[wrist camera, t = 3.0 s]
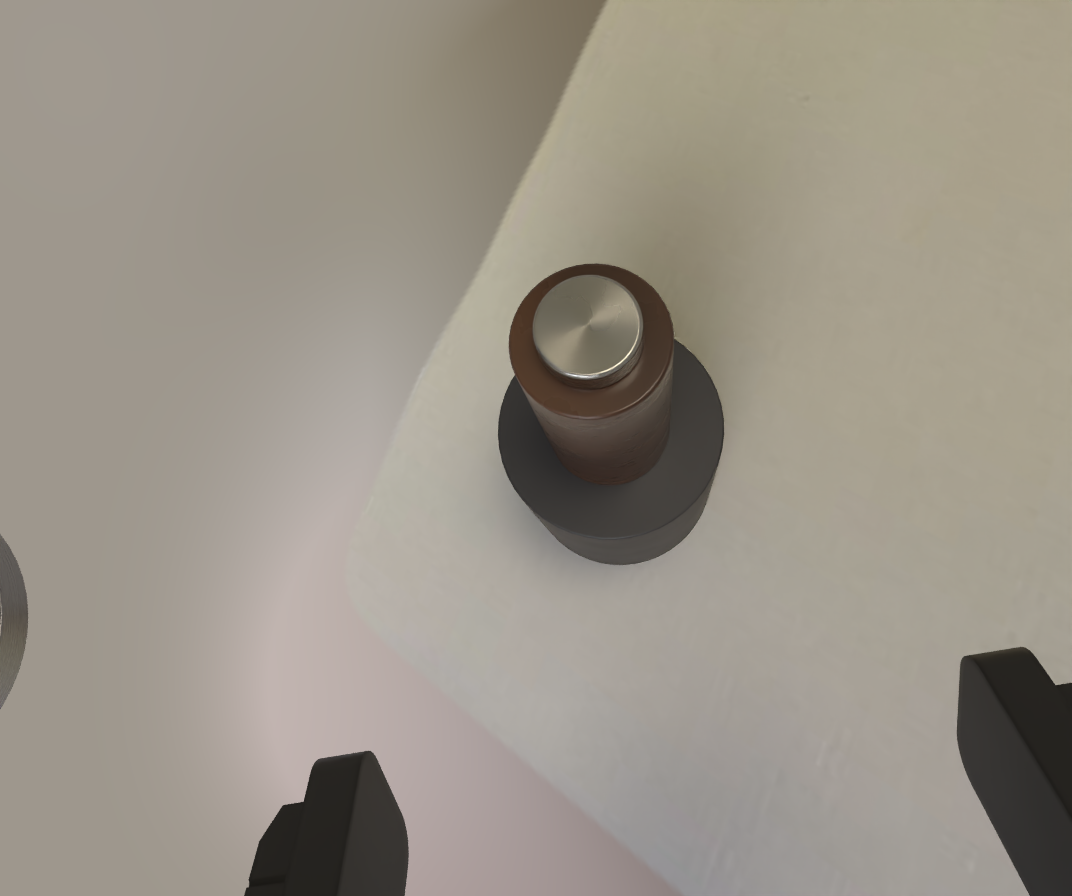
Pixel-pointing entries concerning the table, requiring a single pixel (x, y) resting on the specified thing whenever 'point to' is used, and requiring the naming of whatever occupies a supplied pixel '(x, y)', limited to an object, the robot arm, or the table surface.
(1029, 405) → the table surface
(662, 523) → the stand
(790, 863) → the table surface
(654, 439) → the pepper mill
